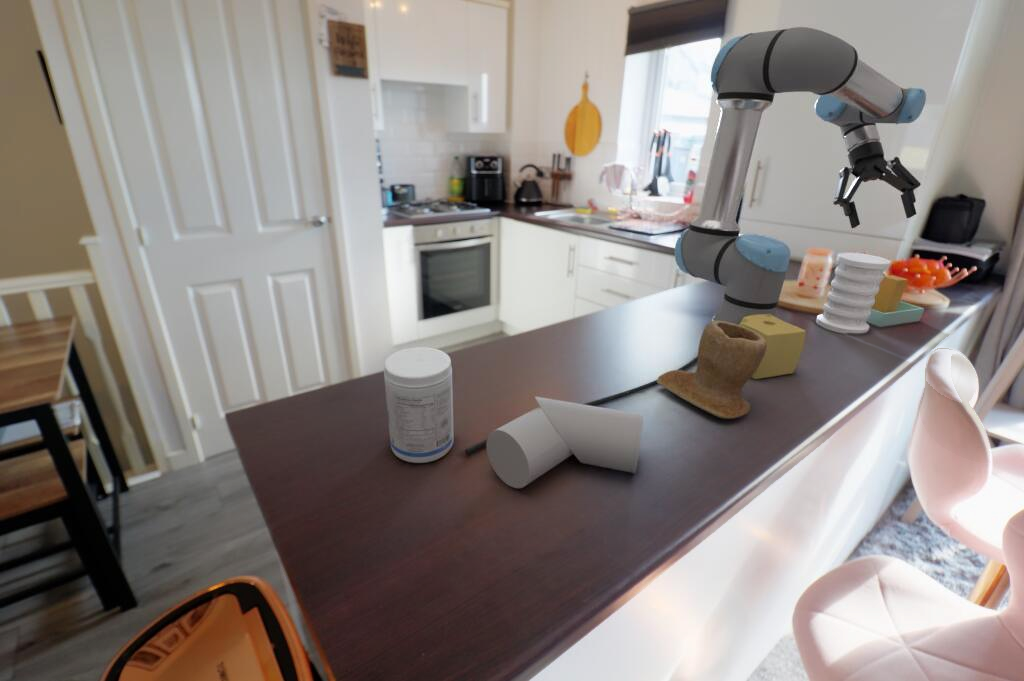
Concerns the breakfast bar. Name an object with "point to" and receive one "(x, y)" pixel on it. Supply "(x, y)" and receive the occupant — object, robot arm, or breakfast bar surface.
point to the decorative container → (852, 292)
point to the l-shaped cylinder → (564, 440)
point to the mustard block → (889, 294)
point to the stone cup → (719, 370)
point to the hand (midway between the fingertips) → (883, 221)
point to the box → (896, 315)
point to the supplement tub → (419, 403)
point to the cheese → (776, 344)
